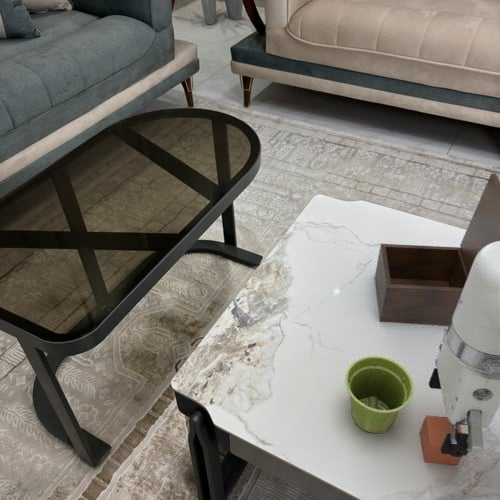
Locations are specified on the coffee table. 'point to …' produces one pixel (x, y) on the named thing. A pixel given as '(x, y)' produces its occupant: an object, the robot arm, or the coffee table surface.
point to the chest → (419, 283)
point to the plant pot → (377, 391)
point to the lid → (483, 222)
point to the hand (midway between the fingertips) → (445, 418)
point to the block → (436, 440)
